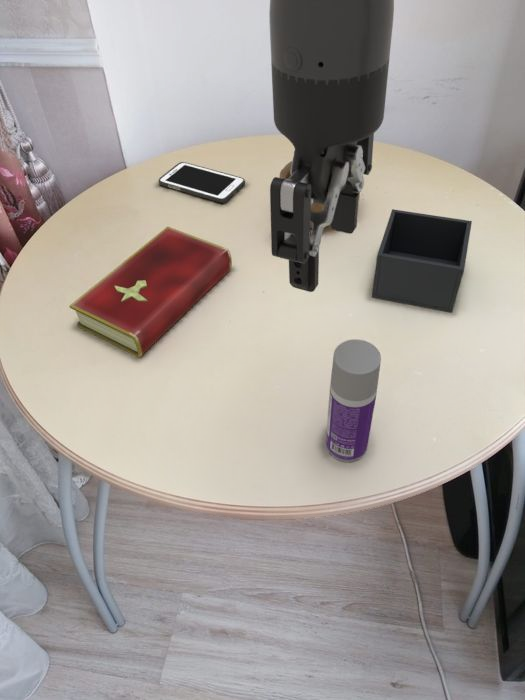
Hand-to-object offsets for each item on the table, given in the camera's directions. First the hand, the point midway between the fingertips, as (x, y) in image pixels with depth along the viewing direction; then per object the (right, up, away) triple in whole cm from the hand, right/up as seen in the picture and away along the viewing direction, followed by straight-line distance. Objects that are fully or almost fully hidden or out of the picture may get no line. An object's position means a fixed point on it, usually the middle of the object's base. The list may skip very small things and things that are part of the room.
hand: (324, 256), depth 47 cm
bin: (+17, +2, +35) cm, 39 cm away
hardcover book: (-21, 0, +35) cm, 41 cm away
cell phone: (-16, +22, +55) cm, 62 cm away
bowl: (+3, +14, +47) cm, 49 cm away
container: (+4, -19, +17) cm, 25 cm away
